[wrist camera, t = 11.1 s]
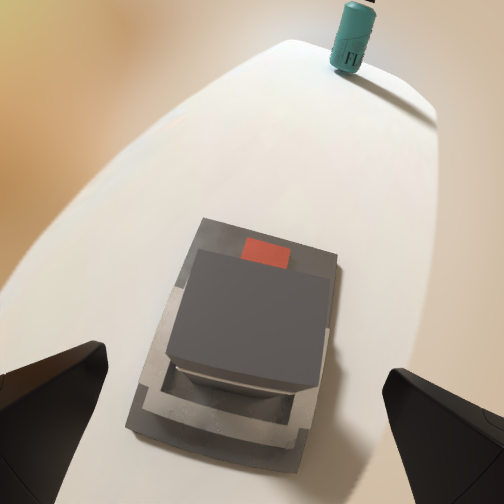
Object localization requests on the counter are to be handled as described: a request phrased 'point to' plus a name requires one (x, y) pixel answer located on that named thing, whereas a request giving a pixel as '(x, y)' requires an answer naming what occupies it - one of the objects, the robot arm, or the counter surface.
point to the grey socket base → (221, 402)
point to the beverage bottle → (352, 36)
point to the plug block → (250, 327)
